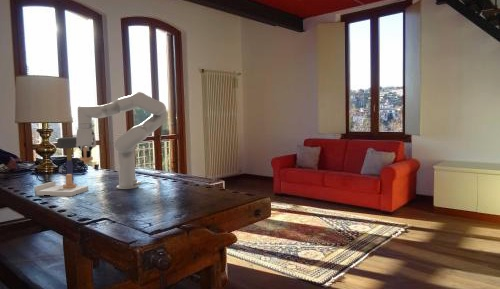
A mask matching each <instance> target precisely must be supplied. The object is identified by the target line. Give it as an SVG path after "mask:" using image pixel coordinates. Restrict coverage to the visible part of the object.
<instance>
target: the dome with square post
mask: <svg viewBox="0 0 500 289" xmlns="http://www.w3.org/2000/svg"><path fill="white" fill-rule="evenodd" d="M86 151H87V146H85V147H84V148H83V155H84V158H82V156H81V157H80V161H81V162H82V161H83V164H84V165H90V161H93V159H94V158H93V156H91V157H89V158H87V155H86Z"/></svg>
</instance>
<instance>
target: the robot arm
mask: <svg viewBox="0 0 500 289" xmlns="http://www.w3.org/2000/svg"><path fill="white" fill-rule="evenodd" d="M135 109H140V110H144V111H145V112H148V113H150V114H151V115H150V116H149V117H148V118H146V119H145V120H144V121H142V122H141V123H140V124H139V123H138V125H134V126H133V127H131V128H130V129H128V130H127V131H126V132H125V133H123V134H122V135H120V136H119V137H118V138H117V139H116V140H115V142H114V148H115V150H116V151H117V153H118V155H117V156H118V157H117V158H118V161H117V162H118V165H117V166H118V185H116V189H118V190H130V189H136V188H138V187H139V186H141V185H142V181H141V180H140V181H138V179H136V158H135V157H136V155H135V154H136V146H137V145H139V144H140V143H141V142H144V140H146V139H147V138H148V137H149V136H150V135H151V134H153V133H154V132H155V131H156V130H157V129H159V128H160V127H161V126H163V124H164V123H165V121H166V119H167V116H168V114H167V107H166V105H165V103H164V102H162V101H159V100H157V99H155V98H153V97H151V96H150V95H147V94H145V92H144V93H143V92H142V91H137V92H134V93H133V94H131V95H130V94H129V95H127V96H123V97H120V98H117V99H115V100H114V101H112V102H110V103H109V102H108V103H105V104H101V105H98V104H97V105H90V106H89V105H79V106H78V107H77V129H76V136H75V137H76V148H78V149H79V151H80V152H81V157H82V158H84V155H83V148H84V147H87V151H86V155H87V158H89V157H92V150H93V149H94V148H96V147H97V145H96V133H95V130H94V127H95V125H94V124H93V120H92V119H93V118H94V119H104V118H108V117H111V116H114V115H118V114H122V113H125V112H129V111H133V110H135Z"/></svg>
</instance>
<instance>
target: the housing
mask: <svg viewBox="0 0 500 289" xmlns="http://www.w3.org/2000/svg"><path fill="white" fill-rule="evenodd" d="M73 182H74V180H73V181H72V174H65V184H62V185H60V184H59V185H57V184H56V180H53V181H49V182H45V183H42V184H38V185H35V186H34V196H44V195H50V197H51V196H53V197H73V196H74V197H75V196H77V195H79V194H81V193H85V192H88V191H89V186H88V185H77V184H76V183H73ZM76 194H77V195H76Z"/></svg>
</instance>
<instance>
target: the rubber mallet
mask: <svg viewBox="0 0 500 289" xmlns="http://www.w3.org/2000/svg"><path fill="white" fill-rule="evenodd" d="M56 145H57V147H58V149H60V150H61V149H66V173H67V174H72V181H73V182H74V174H73V173H74V165H73V159H72V149H74V148H77V147H76V136H66V137H59V138H58V139H57V142H56ZM67 174H66V175H67Z"/></svg>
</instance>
